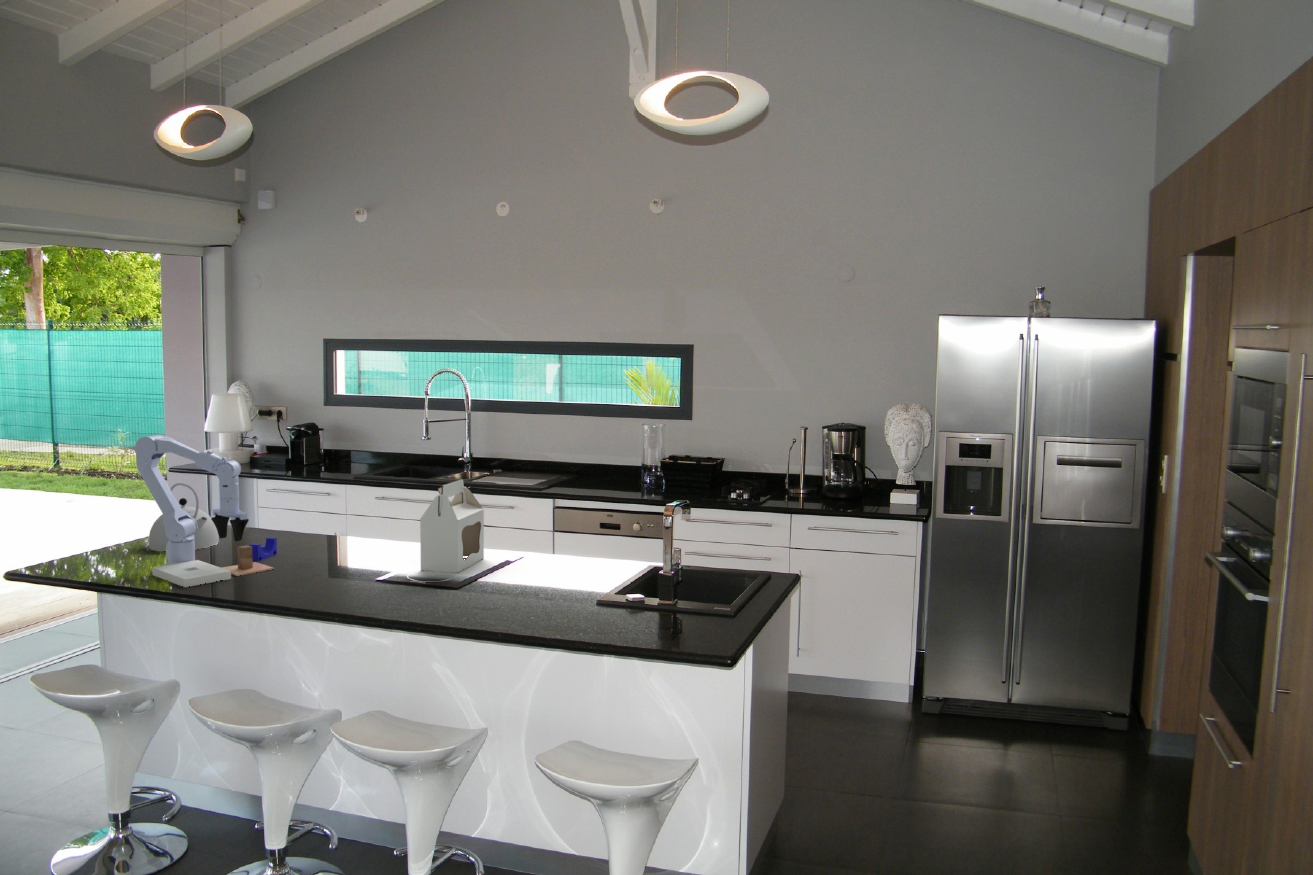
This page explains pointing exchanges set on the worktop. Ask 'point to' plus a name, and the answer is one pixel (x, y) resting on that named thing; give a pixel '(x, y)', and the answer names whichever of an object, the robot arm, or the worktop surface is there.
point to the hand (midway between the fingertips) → (230, 539)
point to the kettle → (202, 537)
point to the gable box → (452, 530)
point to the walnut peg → (244, 557)
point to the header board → (191, 573)
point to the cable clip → (264, 549)
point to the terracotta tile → (256, 568)
